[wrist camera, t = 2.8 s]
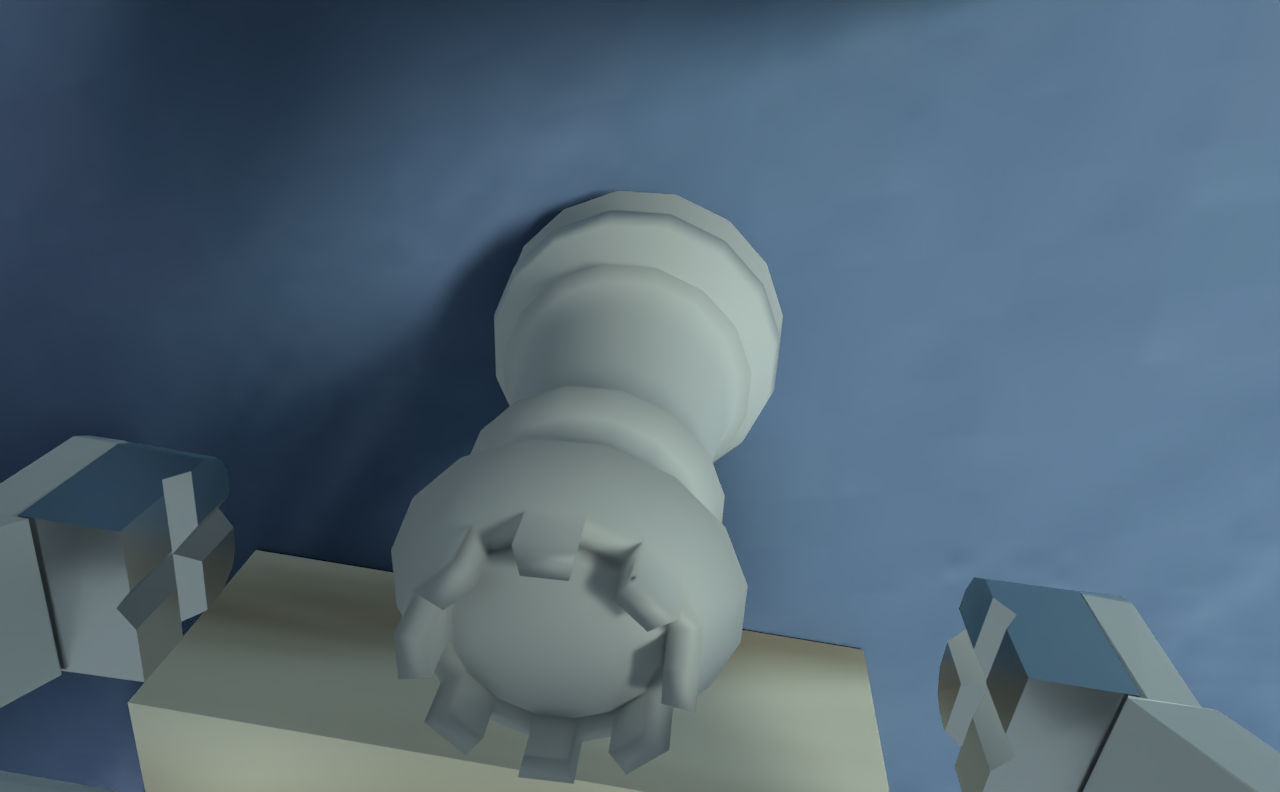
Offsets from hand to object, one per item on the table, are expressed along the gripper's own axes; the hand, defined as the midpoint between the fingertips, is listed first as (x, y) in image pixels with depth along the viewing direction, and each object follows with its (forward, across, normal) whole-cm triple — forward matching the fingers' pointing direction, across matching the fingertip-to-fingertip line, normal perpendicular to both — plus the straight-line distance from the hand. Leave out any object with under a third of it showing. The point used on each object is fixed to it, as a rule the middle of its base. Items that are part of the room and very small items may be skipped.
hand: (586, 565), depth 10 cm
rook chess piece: (+6, 0, -1) cm, 6 cm away
